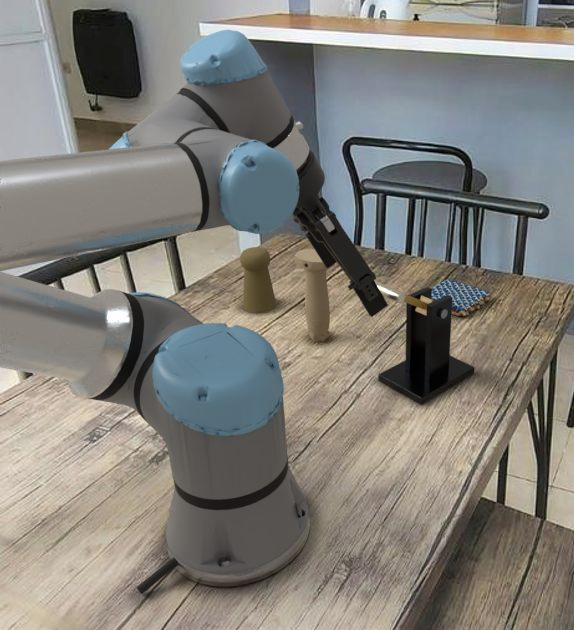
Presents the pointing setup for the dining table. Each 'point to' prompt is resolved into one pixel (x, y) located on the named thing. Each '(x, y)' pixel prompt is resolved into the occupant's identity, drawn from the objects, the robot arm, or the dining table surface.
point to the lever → (404, 297)
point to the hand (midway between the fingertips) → (355, 285)
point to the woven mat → (461, 296)
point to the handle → (315, 294)
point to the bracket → (427, 353)
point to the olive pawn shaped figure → (257, 281)
